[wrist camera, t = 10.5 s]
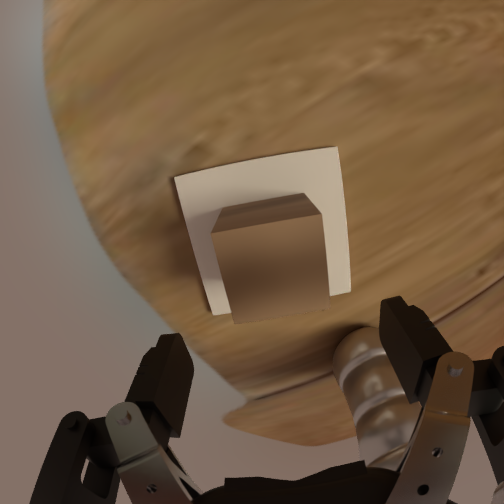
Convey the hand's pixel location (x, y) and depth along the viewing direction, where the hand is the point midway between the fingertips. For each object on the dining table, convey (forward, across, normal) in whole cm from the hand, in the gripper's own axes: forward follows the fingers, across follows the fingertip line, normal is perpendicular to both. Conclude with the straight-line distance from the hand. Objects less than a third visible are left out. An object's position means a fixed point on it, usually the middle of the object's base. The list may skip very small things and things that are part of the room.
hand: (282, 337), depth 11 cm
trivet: (+12, 0, 0) cm, 12 cm away
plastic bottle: (+12, -7, +13) cm, 20 cm away
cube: (+12, 0, 0) cm, 12 cm away
